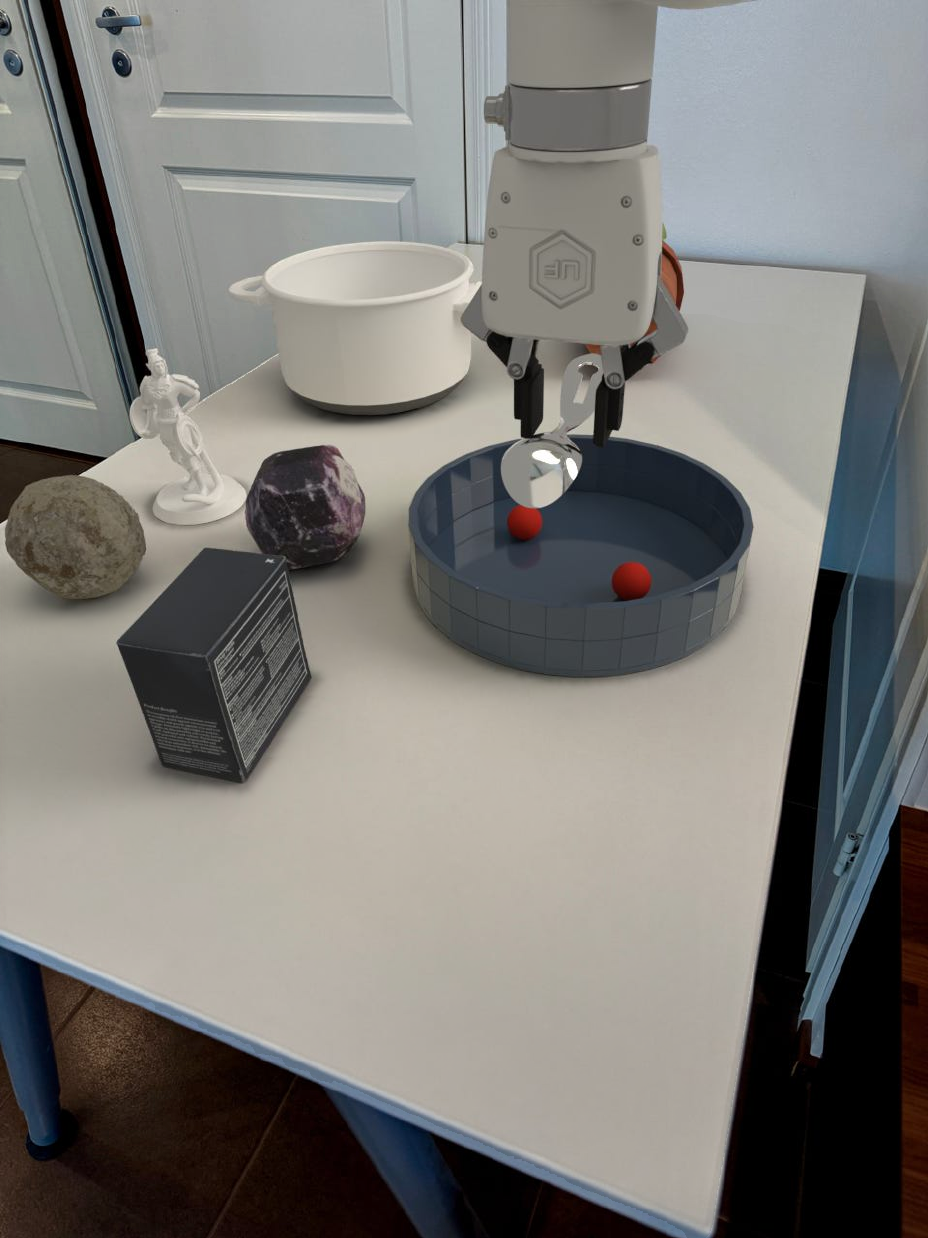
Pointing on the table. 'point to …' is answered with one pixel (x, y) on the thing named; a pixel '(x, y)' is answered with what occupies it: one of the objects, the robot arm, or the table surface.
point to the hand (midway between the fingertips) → (567, 431)
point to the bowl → (581, 560)
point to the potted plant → (671, 280)
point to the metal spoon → (552, 445)
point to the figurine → (181, 449)
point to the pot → (369, 323)
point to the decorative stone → (75, 536)
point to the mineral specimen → (305, 506)
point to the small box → (218, 662)
